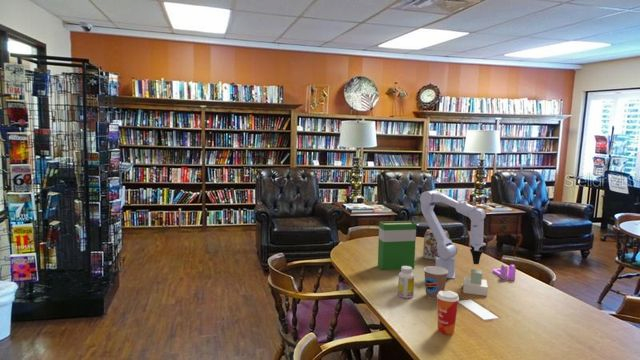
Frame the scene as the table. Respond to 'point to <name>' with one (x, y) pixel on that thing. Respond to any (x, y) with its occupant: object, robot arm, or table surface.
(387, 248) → the green cereal box
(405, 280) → the supplement bottle
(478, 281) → the green cube
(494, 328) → the table surface
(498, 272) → the bracket
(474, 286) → the painted block
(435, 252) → the decorative jar
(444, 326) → the paper cup
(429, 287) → the coffee cup
